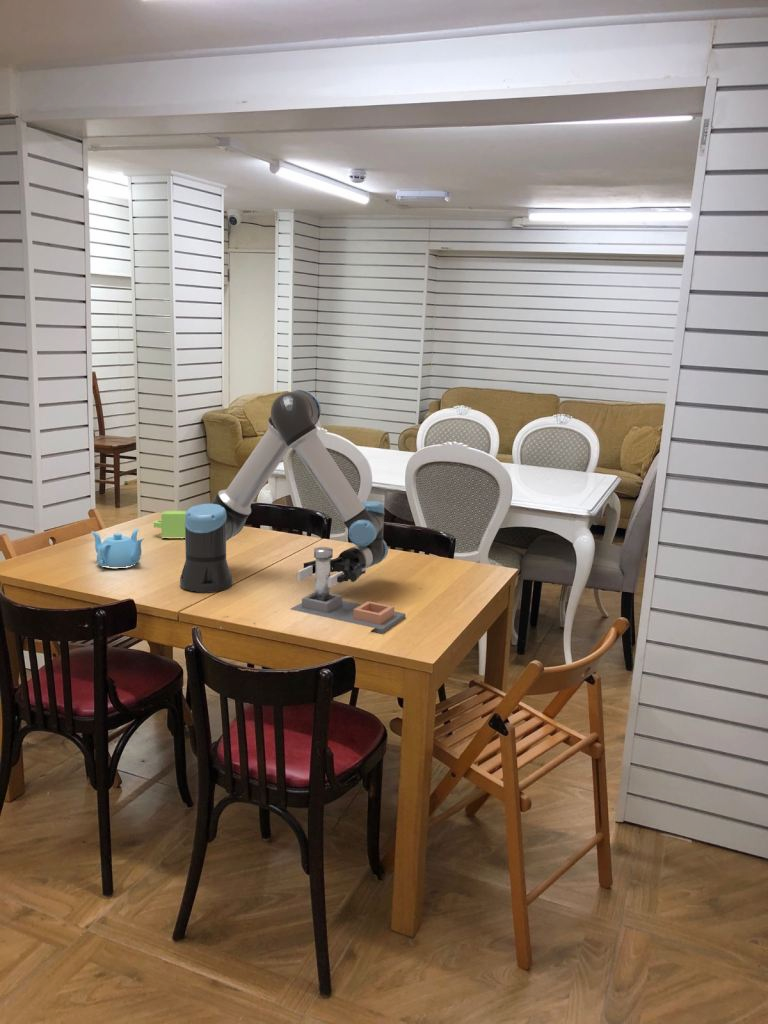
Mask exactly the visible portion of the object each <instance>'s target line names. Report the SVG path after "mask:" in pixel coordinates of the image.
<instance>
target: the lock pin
mask: <svg viewBox="0 0 768 1024" xmlns="http://www.w3.org/2000/svg"><path fill="white" fill-rule="evenodd" d="M333 551H334V550H333V548H331V547H328V546H327V547H326V546H319V547H315V548H314V549H313V558H314V559H315V560H316V571H315V573H314V574H315V575H314V577H315V579H314V592H315V600H319V601H324V602H326V601H328V600H330V594H331V592H330V591H331V590H330V589H331V587H328V581H329V577H330V576H331V572H330V563H331V559H332V558H333Z"/></svg>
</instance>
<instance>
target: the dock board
mask: <svg viewBox="0 0 768 1024" xmlns="http://www.w3.org/2000/svg"><path fill="white" fill-rule="evenodd" d="M290 610H291V611H296V612H301V613H305V614H310V615H314V616H317V617H323V618H328V619H332V620H336V621H337V620H338V621H342V622H345V623H349V624H353V625H354V624H355V625H359V626H364V627H370V628H373V629H371V630H370V632H371V633H375V634H376V633H377V634H381V635H382V634H384V633H385V632H386V631H388V630H390V629H391V628H393V627H394V626H395V625H397V624H398V623H400V622H402V621H403V620H404V619H405V618H406V613H405V612H399V611H395V606H393V605H388V604H384V603H378V602H373V601H370V600H369V601H368V600H367V601H366V602H364V603H362V604H360V603H356V602H352V601H348V600H347V601H346V600H343V595H340V594H335V593H330V600H328V601H326V602H324V601H319V600H315V591H314V592H312V593H310V594H308V595H306V596H304V597H303V598H301V603H298V604H297V605H294V606H293V607H291V608H290Z"/></svg>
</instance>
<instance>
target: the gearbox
mask: <svg viewBox="0 0 768 1024" xmlns="http://www.w3.org/2000/svg"><path fill="white" fill-rule="evenodd" d="M186 512H187V510H163V511H162V512H161V520H154V521H153V528H155V529H156V528H157V529H161V535H160V536H161V538H162V537H185V515H186Z"/></svg>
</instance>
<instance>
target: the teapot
mask: <svg viewBox="0 0 768 1024" xmlns="http://www.w3.org/2000/svg"><path fill="white" fill-rule="evenodd" d="M139 530H140V529H139V528H136V529H134V530H133V531H132V534H131V536H130V537H129V536H124V535H123V533H120V532H118V533H113V536H109V537H106V538H105V539H104V540H103V542H102V539H101V536H100V534H99V533H98V532H96V531H94V530H91V534H92V535H93V536H94V549H95V552H96V553H97V554H96V562H97V564H98V563H99V564H98V565H99V566H100V567H101V566H109V567H126V566H131V565H134V564H136V563H137V564H138V563H139V561H140V560H141V556H142V542H143V541H144V539H145V538H140V539H137V537H138V532H139ZM137 564H136V565H137Z"/></svg>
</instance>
